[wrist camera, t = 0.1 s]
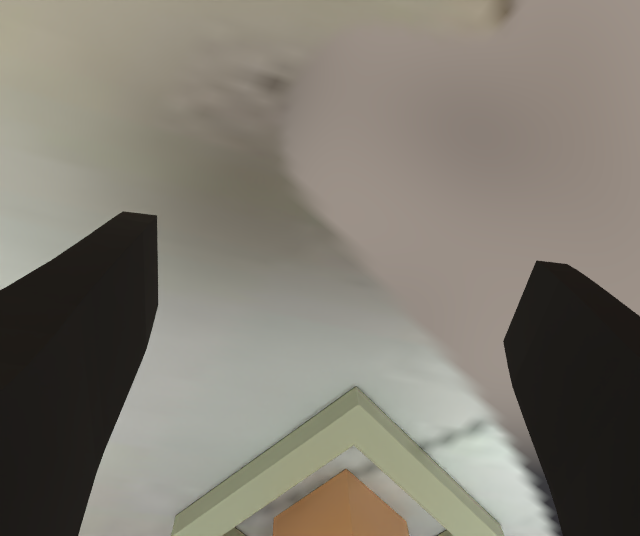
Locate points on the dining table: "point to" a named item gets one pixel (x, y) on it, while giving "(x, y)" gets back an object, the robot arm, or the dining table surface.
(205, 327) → the dining table surface
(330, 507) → the plug
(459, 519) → the tray
